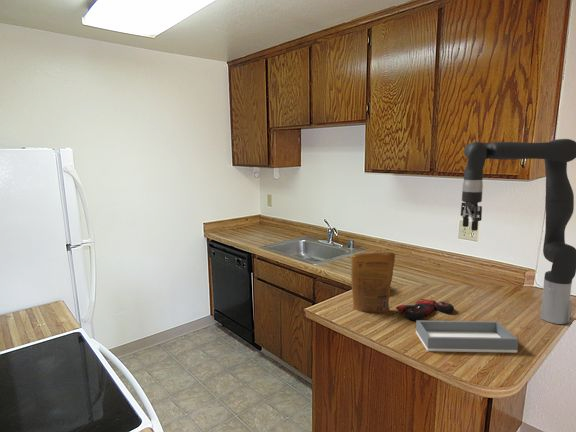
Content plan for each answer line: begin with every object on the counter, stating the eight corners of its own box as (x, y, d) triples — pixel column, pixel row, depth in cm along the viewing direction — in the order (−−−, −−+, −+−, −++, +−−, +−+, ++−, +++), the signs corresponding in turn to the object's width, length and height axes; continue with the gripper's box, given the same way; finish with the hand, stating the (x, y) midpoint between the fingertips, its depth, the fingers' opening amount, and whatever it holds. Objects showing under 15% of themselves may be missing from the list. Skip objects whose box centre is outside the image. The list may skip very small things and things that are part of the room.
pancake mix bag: (394, 316, 156) (396, 254, 152) (350, 314, 159) (351, 253, 154) (391, 310, 163) (394, 250, 159) (349, 308, 165) (350, 249, 161)
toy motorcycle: (456, 315, 159) (429, 297, 173) (458, 304, 158) (431, 288, 172) (413, 328, 149) (388, 308, 163) (415, 317, 148) (389, 298, 162)
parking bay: (496, 333, 140) (497, 321, 139) (517, 352, 126) (518, 339, 126) (415, 332, 142) (416, 320, 141) (427, 351, 128) (428, 338, 127)
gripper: (490, 192, 143) (487, 231, 146) (473, 189, 157) (471, 225, 160) (470, 192, 144) (468, 231, 146) (456, 189, 158) (454, 225, 160)
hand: (469, 228), depth 153 cm, fingers open, 8 cm apart
